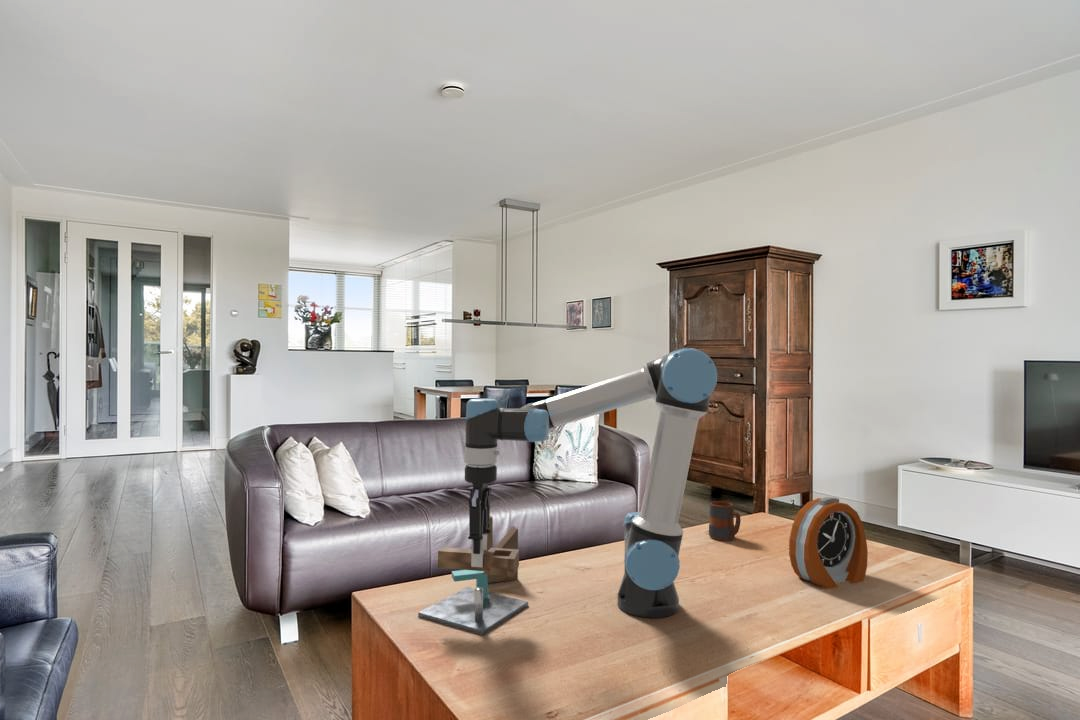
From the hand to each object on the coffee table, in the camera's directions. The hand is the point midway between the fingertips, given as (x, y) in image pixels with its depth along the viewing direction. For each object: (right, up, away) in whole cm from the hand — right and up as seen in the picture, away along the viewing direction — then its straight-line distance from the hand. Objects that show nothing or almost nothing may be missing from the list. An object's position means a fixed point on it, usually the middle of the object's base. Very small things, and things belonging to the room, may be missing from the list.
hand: (479, 563), depth 147 cm
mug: (+77, -13, +65) cm, 102 cm away
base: (-2, -13, +5) cm, 14 cm away
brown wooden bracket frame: (+3, -13, +26) cm, 29 cm away
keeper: (-4, -13, +10) cm, 17 cm away
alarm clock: (+96, -13, +27) cm, 100 cm away
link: (0, -1, 0) cm, 1 cm away
